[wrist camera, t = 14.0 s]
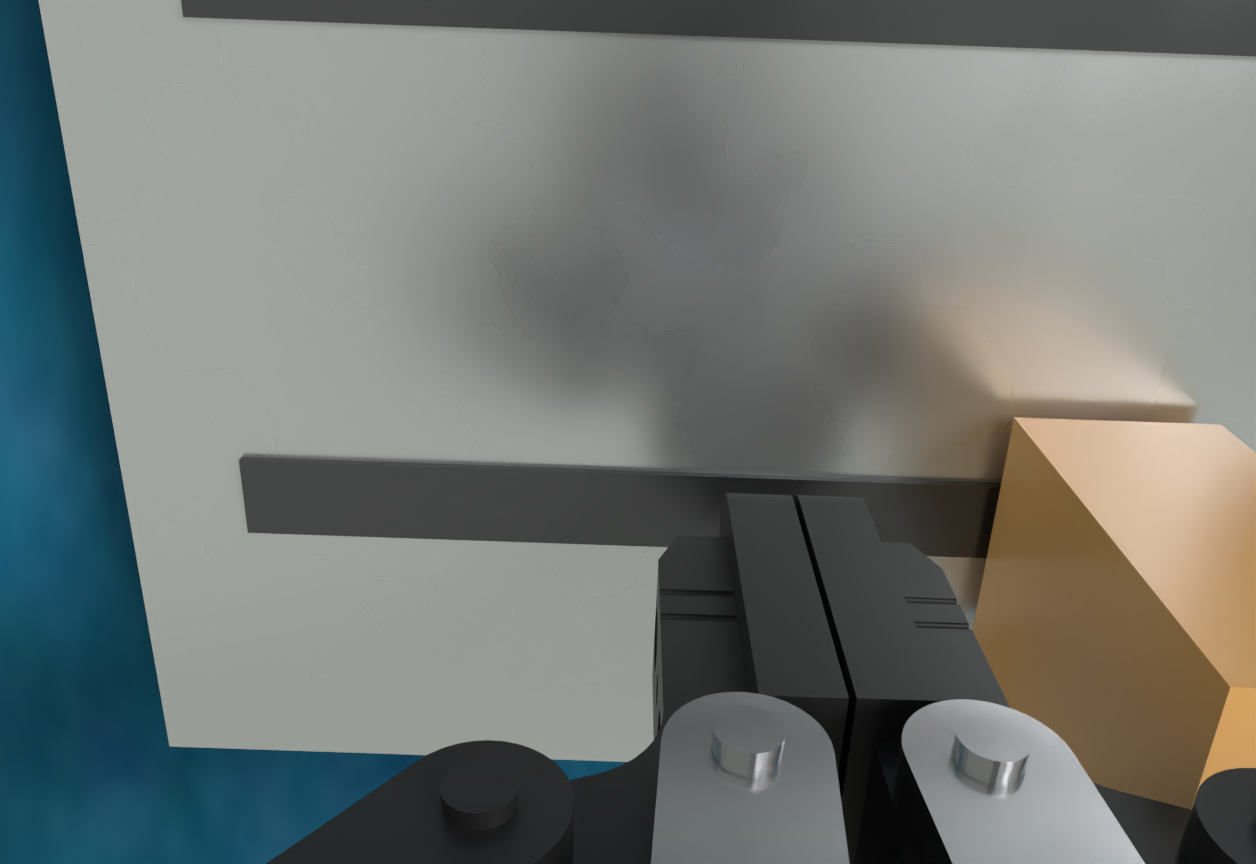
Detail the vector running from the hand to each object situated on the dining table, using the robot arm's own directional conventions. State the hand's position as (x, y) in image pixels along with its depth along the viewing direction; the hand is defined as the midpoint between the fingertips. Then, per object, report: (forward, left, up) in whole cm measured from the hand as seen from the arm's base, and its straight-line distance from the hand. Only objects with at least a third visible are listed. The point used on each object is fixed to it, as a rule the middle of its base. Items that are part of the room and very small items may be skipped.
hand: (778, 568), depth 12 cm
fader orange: (0, +4, -1) cm, 4 cm away
